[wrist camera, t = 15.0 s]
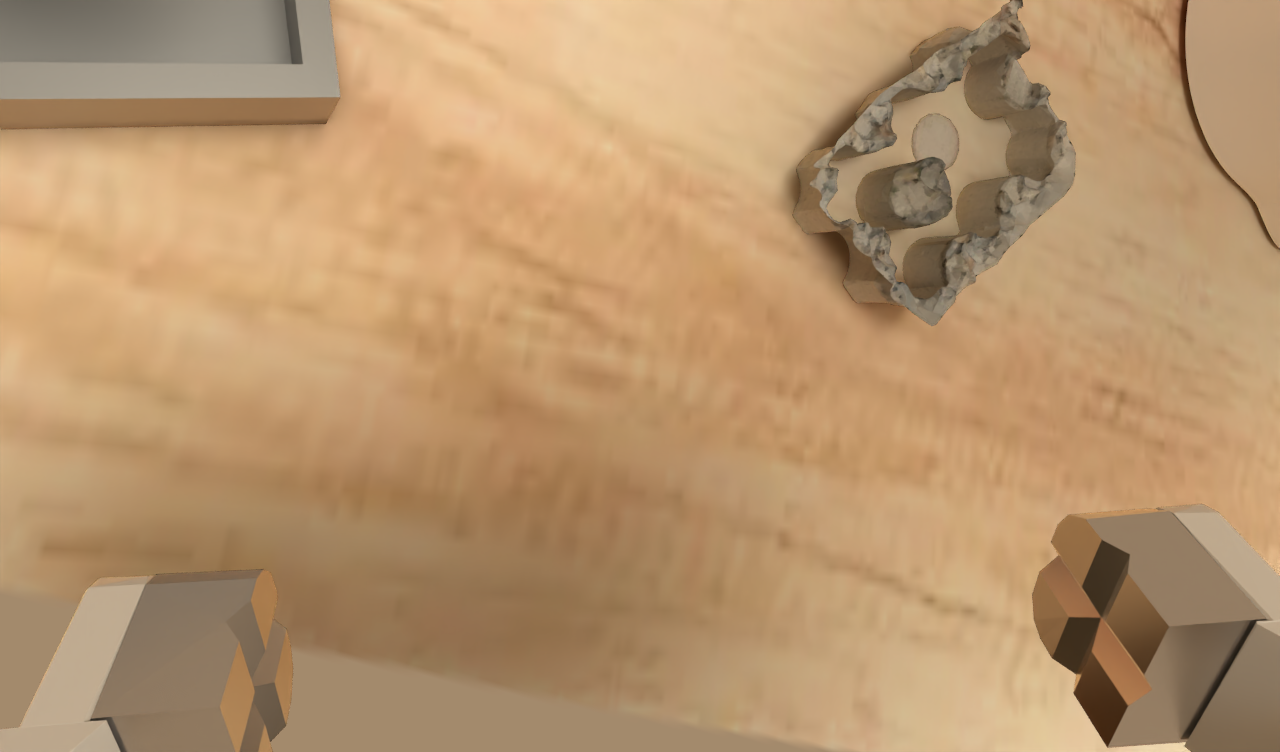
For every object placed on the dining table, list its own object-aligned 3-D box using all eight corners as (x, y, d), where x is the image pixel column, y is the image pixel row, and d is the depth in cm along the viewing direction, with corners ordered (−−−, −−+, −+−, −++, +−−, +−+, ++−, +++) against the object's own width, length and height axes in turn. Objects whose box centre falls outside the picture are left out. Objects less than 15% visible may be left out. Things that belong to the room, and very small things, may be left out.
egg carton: (945, 12, 36) (1028, -21, 32) (1031, 173, 38) (1117, 158, 35) (758, 176, 33) (825, 159, 30) (863, 338, 36) (937, 342, 32)
